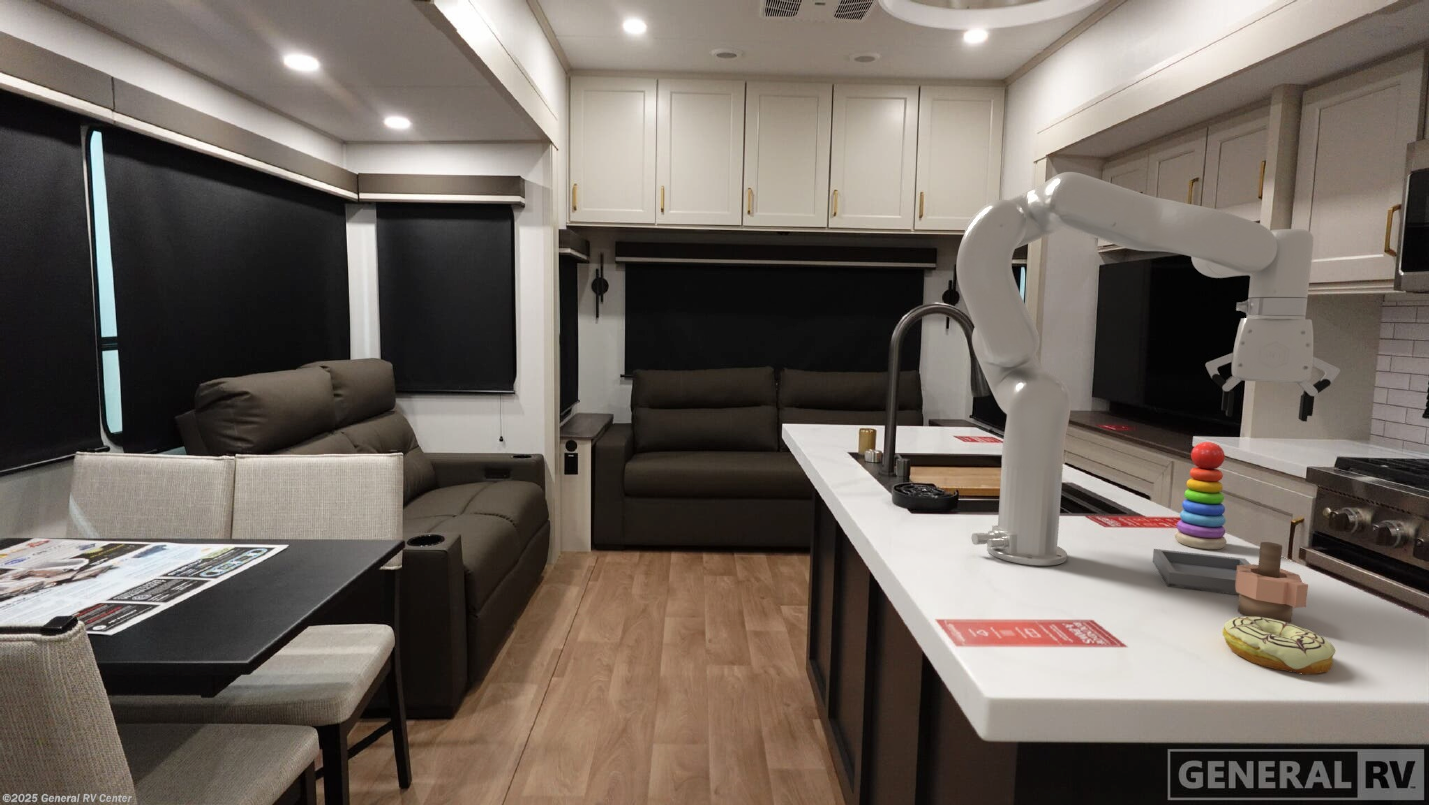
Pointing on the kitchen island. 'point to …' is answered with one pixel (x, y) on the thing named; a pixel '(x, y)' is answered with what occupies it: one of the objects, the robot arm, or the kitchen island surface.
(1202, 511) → the stacking toy
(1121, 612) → the kitchen island surface
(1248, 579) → the ring
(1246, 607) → the rod
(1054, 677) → the kitchen island surface
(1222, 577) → the tray
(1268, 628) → the decorated donut
